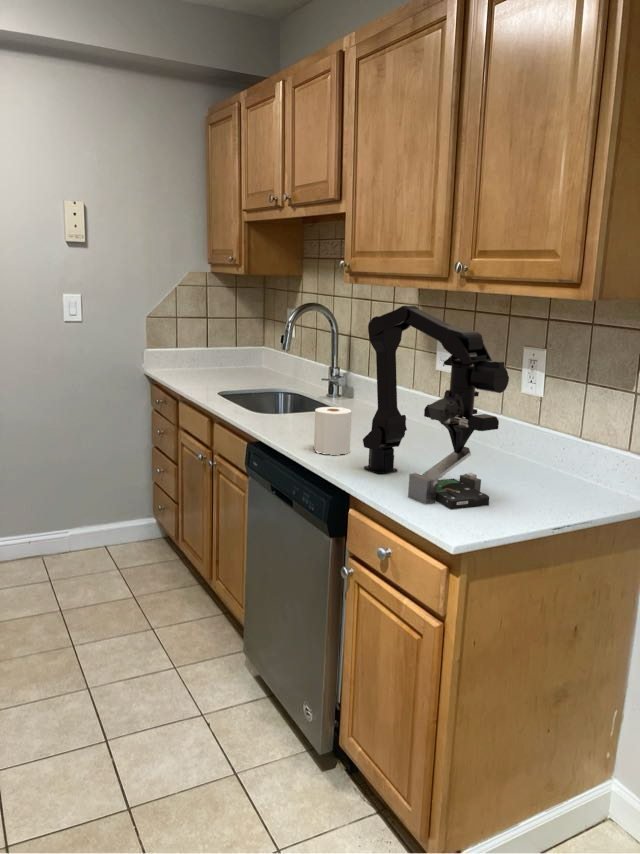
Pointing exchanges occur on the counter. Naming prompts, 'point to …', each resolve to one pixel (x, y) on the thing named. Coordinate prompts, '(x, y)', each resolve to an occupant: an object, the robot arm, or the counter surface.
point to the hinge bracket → (422, 488)
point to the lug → (471, 480)
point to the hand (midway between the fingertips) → (457, 453)
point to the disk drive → (459, 495)
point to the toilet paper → (332, 430)
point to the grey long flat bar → (447, 464)
